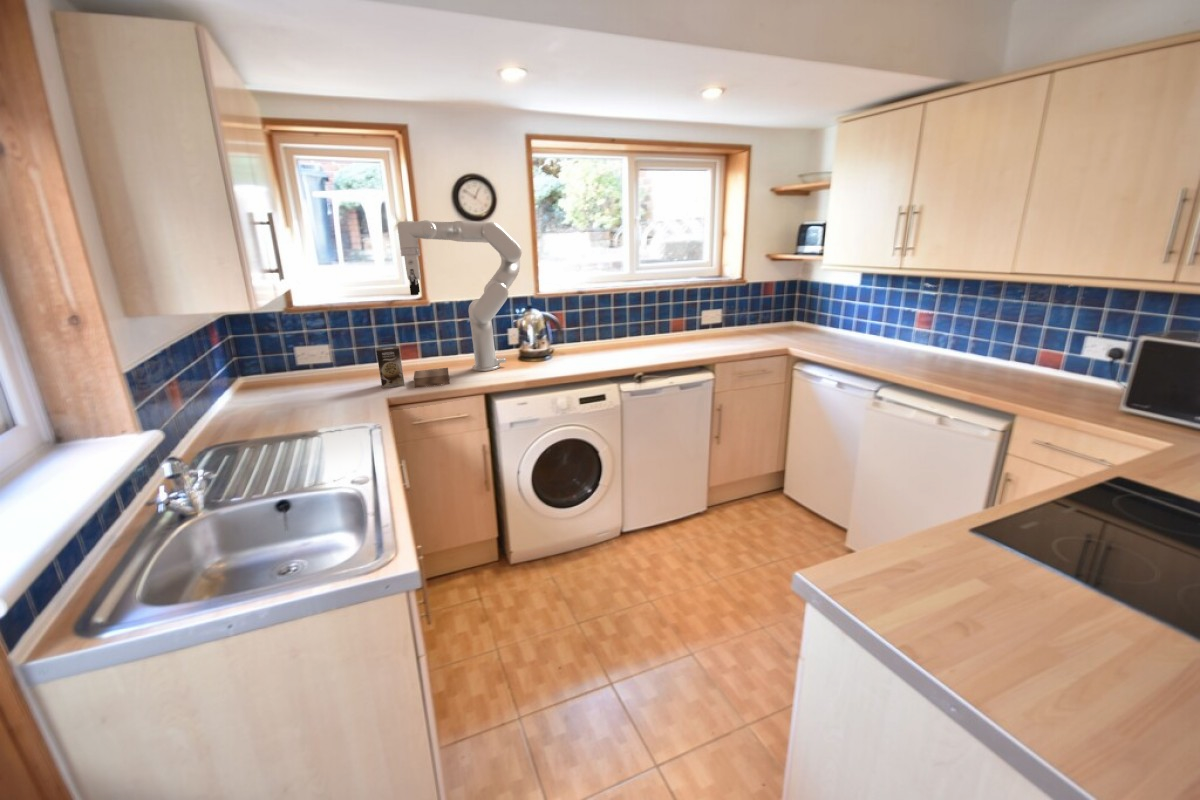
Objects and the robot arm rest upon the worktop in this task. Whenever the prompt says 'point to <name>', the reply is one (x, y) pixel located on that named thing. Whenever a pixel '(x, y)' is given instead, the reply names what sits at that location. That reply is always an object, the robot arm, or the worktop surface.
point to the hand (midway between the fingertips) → (415, 293)
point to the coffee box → (390, 366)
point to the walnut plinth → (431, 377)
